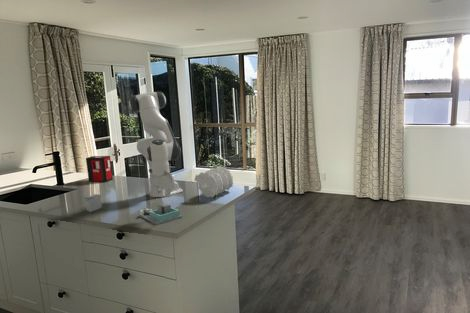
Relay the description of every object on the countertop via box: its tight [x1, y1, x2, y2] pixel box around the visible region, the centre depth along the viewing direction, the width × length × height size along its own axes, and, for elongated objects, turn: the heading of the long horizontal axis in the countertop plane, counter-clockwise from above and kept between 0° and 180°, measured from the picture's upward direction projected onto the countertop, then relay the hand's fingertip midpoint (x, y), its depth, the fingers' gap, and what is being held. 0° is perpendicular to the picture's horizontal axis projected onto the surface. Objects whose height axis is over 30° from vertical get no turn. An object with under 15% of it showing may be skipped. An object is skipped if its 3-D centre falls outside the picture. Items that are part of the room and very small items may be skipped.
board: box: [138, 208, 183, 226], centre depth 199 cm, size 15×21×4 cm
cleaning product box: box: [85, 155, 114, 183], centre depth 297 cm, size 16×9×20 cm, turn 77°
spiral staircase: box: [194, 166, 234, 199], centre depth 237 cm, size 18×18×25 cm
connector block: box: [156, 203, 172, 215], centre depth 196 cm, size 6×4×6 cm
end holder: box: [149, 206, 181, 221], centre depth 196 cm, size 12×11×3 cm
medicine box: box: [84, 193, 103, 213], centre depth 219 cm, size 8×4×9 cm, turn 150°
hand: (163, 195), depth 195 cm, fingers open, 8 cm apart
